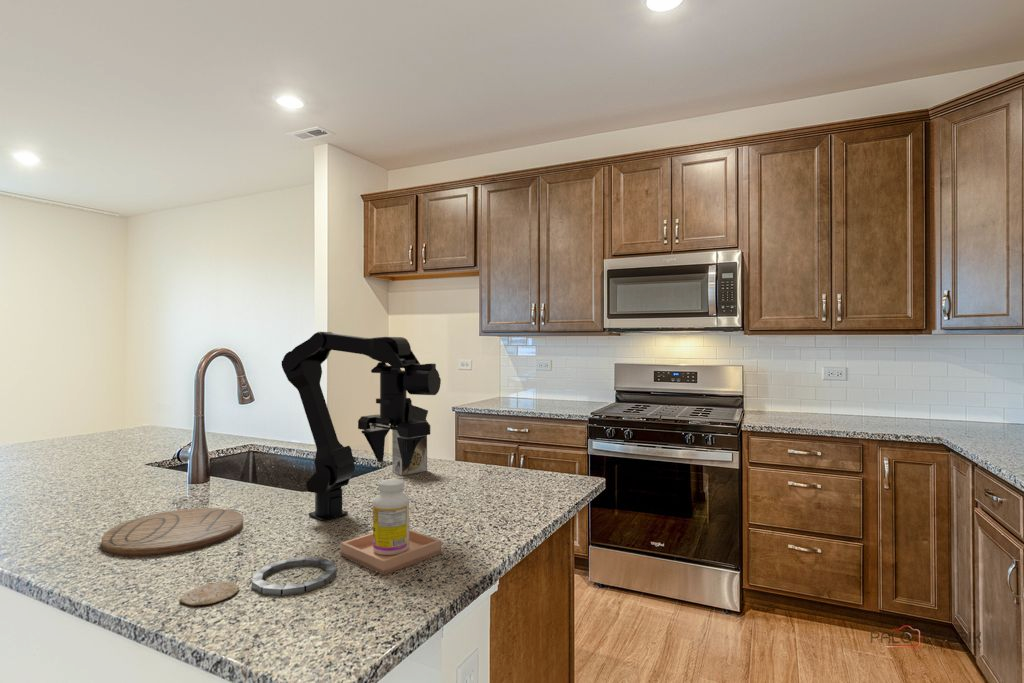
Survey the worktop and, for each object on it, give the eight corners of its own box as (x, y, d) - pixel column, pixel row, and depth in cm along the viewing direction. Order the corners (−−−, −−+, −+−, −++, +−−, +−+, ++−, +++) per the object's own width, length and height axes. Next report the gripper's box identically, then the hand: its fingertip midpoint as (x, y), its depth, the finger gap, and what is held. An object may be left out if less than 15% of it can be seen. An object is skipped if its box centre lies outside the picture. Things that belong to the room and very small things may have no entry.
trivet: (248, 511, 130) (248, 503, 130) (236, 548, 107) (236, 538, 107) (123, 523, 121) (123, 514, 121) (80, 566, 98) (81, 555, 98)
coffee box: (417, 467, 175) (417, 417, 175) (427, 471, 170) (428, 419, 170) (391, 471, 169) (391, 419, 169) (401, 475, 164) (401, 421, 164)
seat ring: (238, 579, 92) (238, 573, 92) (310, 556, 102) (310, 551, 102) (276, 603, 84) (276, 596, 84) (350, 576, 94) (350, 570, 94)
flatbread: (227, 581, 92) (227, 575, 92) (246, 595, 87) (246, 589, 87) (172, 598, 86) (172, 591, 86) (189, 614, 81) (189, 607, 81)
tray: (340, 555, 102) (340, 542, 102) (397, 536, 112) (397, 525, 112) (384, 575, 94) (384, 561, 94) (441, 553, 104) (441, 540, 104)
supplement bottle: (380, 542, 107) (381, 476, 107) (413, 544, 106) (414, 478, 106) (367, 555, 100) (367, 485, 100) (401, 557, 100) (402, 486, 100)
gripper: (449, 393, 121) (449, 464, 121) (396, 389, 133) (396, 453, 133) (409, 397, 112) (409, 473, 112) (356, 392, 124) (356, 461, 124)
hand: (393, 464), depth 121 cm, fingers open, 9 cm apart
